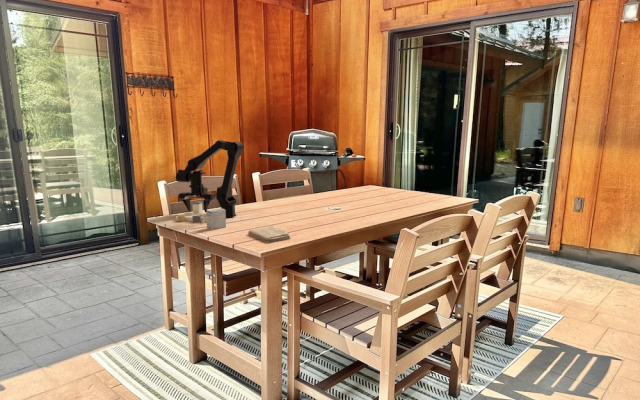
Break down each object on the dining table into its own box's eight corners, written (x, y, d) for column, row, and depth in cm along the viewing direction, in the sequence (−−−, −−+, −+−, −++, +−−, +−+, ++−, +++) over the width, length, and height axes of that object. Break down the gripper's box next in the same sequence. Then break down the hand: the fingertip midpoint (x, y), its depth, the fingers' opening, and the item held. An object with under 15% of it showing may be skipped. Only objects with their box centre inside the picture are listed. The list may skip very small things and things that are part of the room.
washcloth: (268, 244, 168) (268, 237, 168) (246, 235, 182) (246, 228, 182) (292, 239, 176) (292, 232, 175) (270, 231, 190) (270, 224, 189)
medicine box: (220, 225, 198) (219, 207, 197) (226, 227, 195) (225, 209, 194) (206, 228, 192) (205, 210, 191) (212, 230, 189) (211, 211, 188)
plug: (202, 214, 224) (201, 201, 223) (199, 215, 221) (198, 202, 219) (196, 213, 225) (195, 201, 224) (193, 215, 221) (192, 202, 220)
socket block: (213, 217, 216) (213, 211, 215) (202, 222, 204) (202, 216, 204) (187, 216, 219) (186, 210, 218) (174, 221, 208) (174, 215, 207)
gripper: (219, 181, 226) (220, 209, 228) (187, 180, 229) (189, 208, 232) (209, 184, 215) (211, 213, 218) (176, 183, 219) (178, 212, 221)
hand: (197, 211), depth 222 cm, fingers open, 9 cm apart
